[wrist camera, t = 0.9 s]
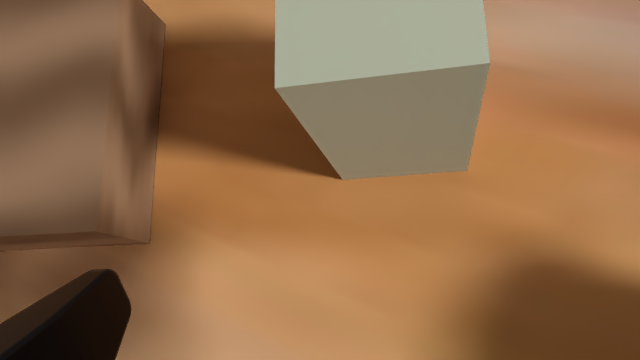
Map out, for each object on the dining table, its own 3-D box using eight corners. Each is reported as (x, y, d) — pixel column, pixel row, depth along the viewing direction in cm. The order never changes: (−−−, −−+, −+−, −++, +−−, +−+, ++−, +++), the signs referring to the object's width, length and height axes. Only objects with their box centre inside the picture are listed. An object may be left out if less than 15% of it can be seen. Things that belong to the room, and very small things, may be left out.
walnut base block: (149, 243, 24) (95, 231, 20) (-52, 253, 27) (-133, 244, 23) (165, 24, 27) (121, -22, 23) (-17, 52, 30) (-83, 14, 26)
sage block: (467, 170, 21) (489, 63, 12) (342, 179, 23) (274, 88, 13) (456, 56, 23) (469, -121, 13) (339, 70, 24) (276, -83, 15)
